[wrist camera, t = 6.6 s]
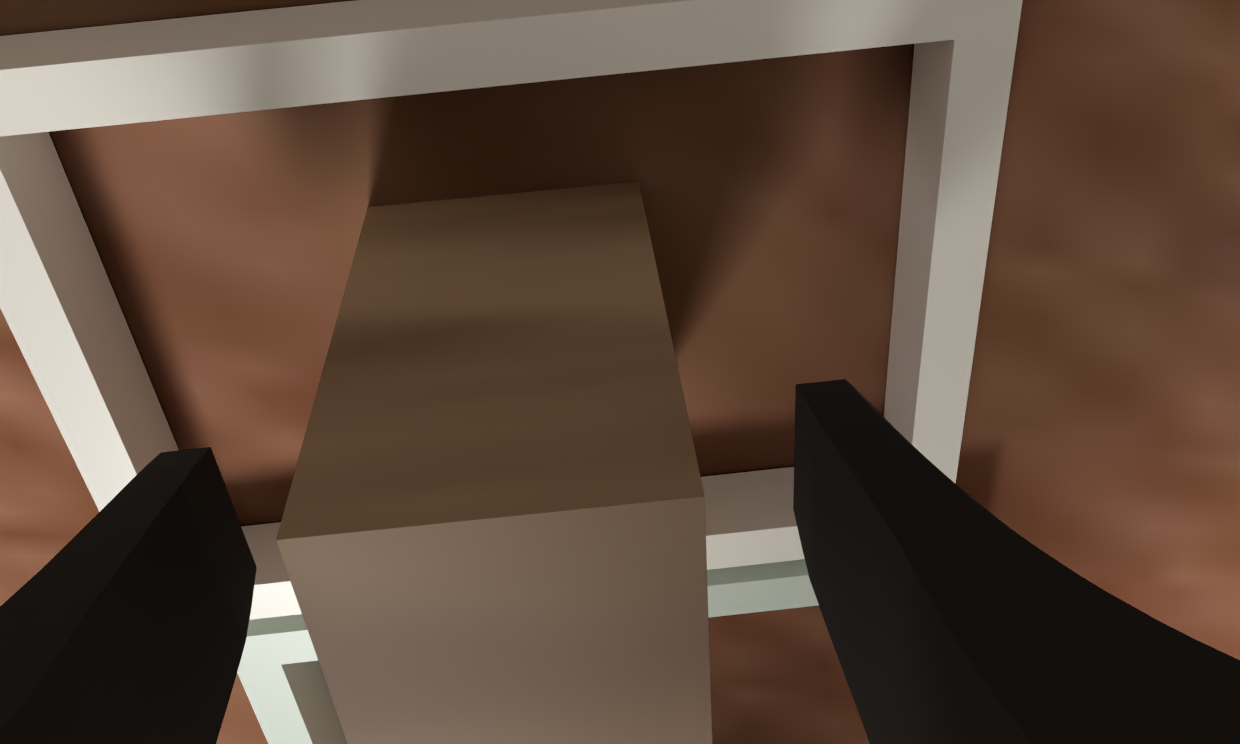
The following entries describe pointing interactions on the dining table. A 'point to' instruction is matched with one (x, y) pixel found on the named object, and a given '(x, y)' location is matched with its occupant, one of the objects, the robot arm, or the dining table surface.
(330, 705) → the pale green rectangular frame
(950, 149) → the tray
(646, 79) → the dining table surface
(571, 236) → the block
